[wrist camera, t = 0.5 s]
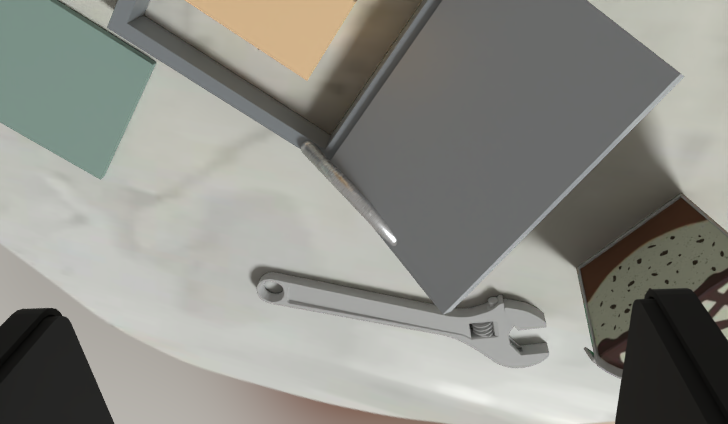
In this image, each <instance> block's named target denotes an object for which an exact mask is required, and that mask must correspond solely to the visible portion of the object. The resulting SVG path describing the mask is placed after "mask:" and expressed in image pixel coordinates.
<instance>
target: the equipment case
mask: <svg viewBox="0 0 728 424" xmlns="http://www.w3.org/2000/svg"><path fill="white" fill-rule="evenodd" d="M149 1H150V0H118V1H117V4H116V6H115V9H114V11H113V14H112V16H111V19H110V21H109V24H108V26H107V28H109V29H110V30H112V31H113V32H115V33H117V34H118V35H120V36H121V37H123V38H124V39H126V40H128V41H129V42H131V43H132V44H134V45H136V46H137V47H139V48H140V49H142V50H144V51H145V52H147V53H148V54H150V55H152V56H153V57H155V58H156V59H158V60H160V61H161V62H163V63H164V64H166V65H167V66H169V67H171V68H172V69H174V70H175V71H177V72H179V73H180V74H182V75H183V76H185V77H187V78H188V79H190V80H191V81H193V82H195V83H196V84H198V85H199V86H201V87H202V88H204V89H206V90H207V91H209V92H210V93H212V94H214V95H215V96H217V97H218V98H220V99H222V100H223V101H225V102H226V103H228V104H230V105H231V106H233V107H234V108H236V109H237V110H239V111H241V112H242V113H244V114H245V115H247V116H249V117H250V118H252V119H253V120H255V121H257V122H258V123H260V124H261V125H263V126H265V127H266V128H268V129H269V130H271V131H273V132H274V133H276V134H277V135H279V136H280V137H282V138H284V139H285V140H287V141H288V142H290V143H292V144H293V145H295V146H296V147H298V148H300V149H301V151H302V153H303V154H304V155H305V156H306V157H307V158H308V159H309V160H310V161H311V162H312V163H313V164H314V165H315V167H316V168H317V169H318V170H319V171H320V172H321V173H322V174H323V175H324V176H325V177H326V178H327V179H328V180H329V181H330V182H331V183H332V184H333V185H334V187H335V188H336V189H337V190H338V191H339V192H340V193H341V194H342V195H343V196H344V197H345V198H346V199H347V200H348V201H349V202H350V203H351V204H352V206H353V207H354V208H355V209H356V210H357V211H358V212H359V213H360V214H361V215H362V216H363V217H364V218H365V219H366V220H367V221H368V222H369V223H370V224H371V226H372V227H373V228H374V229H375V230H376V231H377V233H378V234H379V235H380V236H381V238H382V239H383V240H384V241H385V243H386V244H387V245H388V246H389V248H390V249H391V250H392V251H393V253H394V254H395V255H396V256H397V258H398V259H399V260H400V261H401V263H402V264H403V265H404V266H405V268H406V269H407V270H408V271H409V273H410V274H411V275H412V276H413V278H414V279H415V280H416V281H417V283H418V284H419V285H420V287H421V288H422V289H423V290H424V292H425V293H426V294H427V295H428V297H429V298H430V299H431V300H432V302H433V303H434V304H435V305H436V307H437V308H438V309H439V310H440V312H441V313H442V314H446V313H448V312H451V311H452V310H453V309H454V308H455V307H456V306H457V305H458V304H459V303H460V302H461V301H462V300H463V299H464V298H465V297H466V296H467V295H468V294H469V293H470V292H471V291H472V290H473V289H474V288H475V287H476V286H477V285H478V284H479V283H480V282H481V281H482V280H483V279H484V278H485V277H486V276H487V275H488V274H489V273H490V272H491V271H492V270H493V269H494V268H495V267H496V266H497V265H498V264H499V263H500V262H501V261H502V260H503V259H504V258H505V257H506V256H507V255H508V254H509V253H510V252H511V251H512V250H513V249H514V248H515V247H516V246H517V245H518V244H519V243H520V242H521V241H522V240H523V239H524V238H525V237H526V236H527V235H528V234H529V233H530V232H531V231H532V230H533V229H534V228H535V227H536V226H537V225H538V224H539V223H540V222H541V221H542V220H543V219H544V217H545V216H546V215H547V214H548V213H549V212H550V211H551V210H552V209H553V208H554V207H555V206H556V205H557V204H558V203H559V202H560V201H561V200H562V199H563V198H564V197H565V196H566V195H567V194H568V193H569V192H570V191H571V190H572V189H573V188H574V187H575V186H576V185H577V184H578V183H579V182H580V181H581V180H582V179H583V178H584V177H585V176H586V175H587V174H588V173H589V172H590V171H591V170H592V169H593V168H594V167H595V166H596V165H597V164H598V163H599V162H600V161H601V160H602V159H603V158H604V157H605V156H606V155H607V154H608V153H609V152H610V151H611V150H612V149H613V148H614V147H615V146H616V145H617V144H618V143H619V142H620V141H621V140H622V139H623V138H624V137H625V136H626V135H627V134H628V133H629V132H630V131H631V130H632V129H633V128H634V127H635V126H636V125H637V124H638V123H639V122H640V121H641V120H642V119H643V118H644V117H645V116H646V115H647V114H648V113H649V112H650V111H651V110H652V109H653V108H654V107H655V106H656V105H657V104H658V103H659V102H660V101H661V100H662V99H663V98H664V97H665V96H666V95H667V94H668V93H669V92H670V91H671V90H672V89H673V88H674V87H675V86H676V85H677V84H678V83H679V82H680V81H681V80H682V79H683V78H684V76H683V75H682V74H681V73H679V72H678V71H677V70H675V69H674V68H673V67H672V66H670V65H669V64H668V63H666V62H665V61H664V60H663V59H661V58H660V57H659V56H657V55H656V54H655V53H654V52H652V51H651V50H650V49H648V48H647V47H646V46H645V45H643V44H642V43H641V42H639V41H638V40H637V39H636V38H634V37H633V36H632V35H631V34H629V33H628V32H627V31H625V30H624V29H623V28H622V27H620V26H619V25H618V24H616V23H615V22H614V21H613V20H611V19H610V18H609V17H607V16H606V15H605V14H604V13H602V12H601V11H600V10H598V9H597V8H596V7H595V6H593V5H592V4H591V3H589V2H588V1H587V0H423V1H422V2H421V4H420V5H419V7H418V8H417V10H416V11H415V13H414V14H413V16H412V17H411V19H410V20H409V22H408V23H407V25H406V26H405V27H404V29H403V30H402V32H401V33H400V35H399V36H398V38H397V39H396V41H395V42H394V44H393V45H392V47H391V48H390V49H389V51H388V52H387V54H386V55H385V57H384V58H383V60H382V61H381V63H380V64H379V66H378V67H377V69H376V70H375V72H374V73H373V74H372V76H371V77H370V79H369V80H368V82H367V83H366V85H365V86H364V88H363V89H362V91H361V92H360V94H359V95H358V97H357V98H356V99H355V101H354V102H353V104H352V105H351V107H350V108H349V110H348V111H347V113H346V114H345V116H344V117H343V119H342V120H341V122H340V123H339V124H338V126H337V127H336V129H335V130H334V132H333V133H332V135H329V134H328V133H326V132H325V131H323V130H321V129H320V128H318V127H317V126H315V125H314V124H312V123H310V122H309V121H307V120H306V119H304V118H303V117H301V116H300V115H298V114H296V113H295V112H293V111H292V110H290V109H289V108H287V107H286V106H284V105H282V104H281V103H279V102H278V101H276V100H275V99H273V98H272V97H270V96H268V95H267V94H265V93H264V92H262V91H261V90H259V89H257V88H256V87H254V86H253V85H251V84H250V83H248V82H247V81H245V80H243V79H242V78H240V77H239V76H237V75H236V74H234V73H233V72H231V71H229V70H228V69H226V68H225V67H223V66H222V65H220V64H219V63H217V62H215V61H214V60H212V59H211V58H209V57H208V56H206V55H205V54H203V53H201V52H200V51H198V50H197V49H195V48H194V47H192V46H190V45H189V44H187V43H186V42H184V41H183V40H181V39H180V38H178V37H176V36H175V35H173V34H172V33H170V32H169V31H167V30H166V29H164V28H162V27H161V26H159V25H158V24H156V23H155V22H153V21H152V20H150V19H148V18H147V17H145V16H144V13H145V11H146V8H147V6H148V4H149Z"/></svg>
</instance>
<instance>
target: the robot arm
mask: <svg viewBox="0 0 728 424" xmlns="http://www.w3.org/2000/svg"><path fill="white" fill-rule="evenodd" d="M0 424H114V422H113V419H112V417H111V415H110V413H109V410H108V408H107V406H106V403H105V401H104V399H103V396H102V394H101V392H100V389H99V387H98V385H97V382H96V380H95V378H94V375H93V373H92V371H91V369H90V366H89V364H88V361H87V359H86V357H85V355H84V352H83V350H82V348H81V345H80V343H79V341H78V338H77V336H76V334H75V331H74V329H73V327H72V324H71V322H70V321H69V319H68V318H66V317H64V316H62V314H61V313H60V312H59V311H58V310H56V309H53V308H40V309H39V308H38V309H21V310H17V311H16V312H15V313H13V314H12V315H11V316H10V317H9V318H8V319H7V320H6V321H5V322H4V323H3V324H2V325H1V326H0ZM615 424H728V340H727V339H726V337H725V336H724V334H723V333H722V331H721V330H720V328H719V327H718V326H717V324H716V323H715V321H714V320H713V318H712V317H711V316H710V314H709V313H708V311H707V310H706V308H705V307H704V306H703V304H702V303H701V301H700V300H699V298H698V297H697V296H696V294H695V293H694V292H693V291H692V290H691V289H689V288H674V289H650V290H648V291H647V292H646V294H645V297H644V299H636V300H635V301H634V302H633V306H632V312H631V319H630V325H629V332H628V339H627V346H626V352H625V359H624V366H623V373H622V379H621V386H620V393H619V400H618V406H617V413H616V420H615Z"/></svg>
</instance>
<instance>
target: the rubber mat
mask: <svg viewBox="0 0 728 424" xmlns="http://www.w3.org/2000/svg"><path fill="white" fill-rule="evenodd" d="M155 64H156V62H155V61H153V60H152V59H150V58H149V57H147V56H145V55H144V54H142V53H141V52H139V51H137V50H136V49H134V48H133V47H131V46H129V45H128V44H126V43H125V42H123V41H121V40H120V39H118V38H117V37H115V36H113V35H112V34H110V33H109V32H107V31H105V30H104V29H102V28H101V27H99V26H97V25H96V24H94V23H93V22H91V21H90V20H88V19H86V18H85V17H83V16H82V15H80V14H78V13H77V12H75V11H74V10H72V9H70V8H69V7H67V6H66V5H64V4H62V3H61V2H59V1H58V0H0V123H2V124H4V125H6V126H7V127H9V128H11V129H13V130H14V131H16V132H18V133H20V134H21V135H23V136H25V137H27V138H28V139H30V140H32V141H34V142H35V143H37V144H39V145H41V146H42V147H44V148H46V149H48V150H49V151H51V152H53V153H55V154H56V155H58V156H60V157H62V158H64V159H65V160H67V161H69V162H71V163H72V164H74V165H76V166H78V167H79V168H81V169H83V170H85V171H86V172H88V173H90V174H92V175H93V176H95V177H97V178H99V179H100V180H101V179H102V178H103V177H104V176H105V173H106V171H107V169H108V167H109V165H110V162H111V160H112V158H113V156H114V154H115V152H116V149H117V147H118V145H119V143H120V141H121V138H122V136H123V134H124V132H125V130H126V128H127V125H128V123H129V121H130V119H131V117H132V115H133V112H134V110H135V108H136V106H137V104H138V101H139V99H140V97H141V95H142V93H143V91H144V88H145V86H146V84H147V82H148V80H149V78H150V75H151V73H152V71H153V69H154V67H155Z"/></svg>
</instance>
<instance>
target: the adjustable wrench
mask: <svg viewBox="0 0 728 424" xmlns="http://www.w3.org/2000/svg"><path fill="white" fill-rule="evenodd" d="M266 281H273V282H276V283H278V284H280V285H281V286H282V287H283V291H282V292H281V293H272V292H269V291H268V290H267V289H266V288H265V286H264V284H265V282H266ZM257 294H258V296H259V297H260V298H261V299H262V300H263V301H265V302H267V303H270V304H276V305H281V306H286V307H292V308H297V309H303V310H308V311H314V312H319V313H325V314H330V315H335V316H341V317H346V318H352V319H357V320H363V321H368V322H374V323H379V324H385V325H390V326H395V327H401V328H406V329H412V330H417V331H423V332H428V333H434V334H439V335H444V336H448V337H452V338H454V339H457V340H459V341H461V342H463V343H465V344H467V345H469V346H471V347H472V348H474V349H476V350H477V351H479V352H481V353H482V354H484V355H485V356H486V357H488V358H489V359H491V360H492V361H494V362H495V363H497V364H499V365H502V366H505V367H510V368H525V367H530V366H533V365H535V364H538V363H540V362H542V361H543V360H545V359H546V358H548V356H549V351H548V346H547V343H537V344H528V345H518V344H517V343H516V342H515V341H514V340H513V339H512V338H511V337H510V336H509V333H510V331H511V329H512V328H513V327H514V326H515V327H516V328H517V330H526V329H535V328H544V327H546V321H545V317H544V313H543V312H542V311H540V310H539V309H537V308H536V307H534V306H532V305H530V304H528V303H525V302H522V301H517V300H512V299H503V296H502V295H498V296H497V297H490V298H489V299H488V303H485V304H482V305H479V306H475V307H471V308H454V309H453V310H452V311H451V312H448V313H446V314H442V313H441V312H440V310H439V309H438V308H437V307H436V305H434V304H429V303H424V302H419V301H414V300H409V299H404V298H399V297H394V296H390V295H385V294H380V293H375V292H370V291H365V290H360V289H355V288H350V287H345V286H340V285H335V284H330V283H325V282H320V281H315V280H311V279H306V278H301V277H296V276H291V275H286V274H281V273H276V272H269V273H266V274H264V275H263V276H262V277H261V278H260V281H259V283H258V285H257ZM503 301H504V302H503ZM471 323H472V327H473V329H471V328H470V324H471Z"/></svg>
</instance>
